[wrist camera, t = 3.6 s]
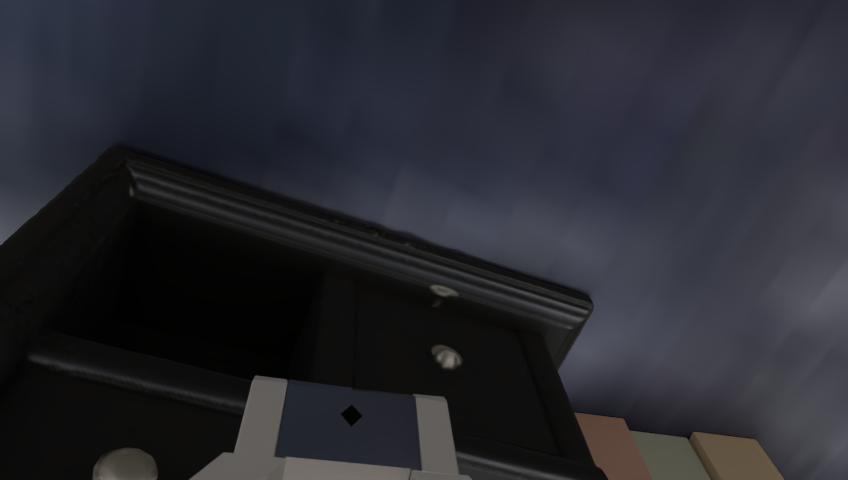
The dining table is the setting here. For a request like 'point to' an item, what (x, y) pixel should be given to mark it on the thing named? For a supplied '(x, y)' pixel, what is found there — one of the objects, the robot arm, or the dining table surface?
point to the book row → (672, 454)
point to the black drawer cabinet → (258, 330)
